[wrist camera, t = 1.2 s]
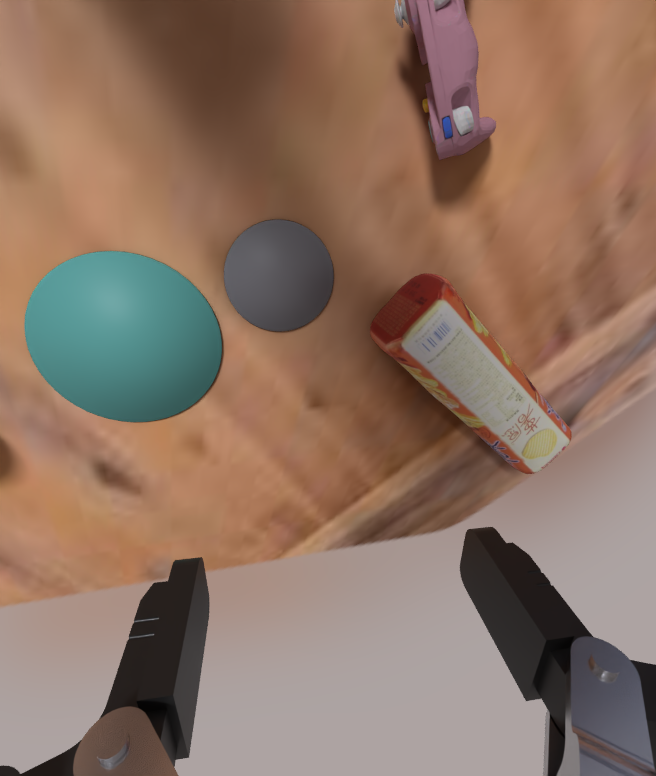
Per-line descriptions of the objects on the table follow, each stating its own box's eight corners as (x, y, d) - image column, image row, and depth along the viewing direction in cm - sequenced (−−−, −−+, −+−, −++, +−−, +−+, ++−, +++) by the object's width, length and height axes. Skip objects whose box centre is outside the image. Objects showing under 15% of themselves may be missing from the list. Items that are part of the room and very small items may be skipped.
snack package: (539, 406, 41) (591, 443, 35) (490, 449, 42) (532, 492, 36) (415, 261, 31) (458, 278, 25) (356, 323, 32) (384, 353, 26)
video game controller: (393, -12, 24) (380, -43, 19) (471, -56, 23) (481, -104, 17) (429, 160, 29) (427, 175, 24) (495, 135, 28) (509, 145, 22)
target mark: (-22, 299, 26) (-24, 299, 26) (162, 219, 26) (162, 219, 26) (103, 445, 32) (102, 446, 32) (250, 380, 32) (250, 381, 32)
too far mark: (203, 247, 27) (202, 247, 27) (309, 200, 27) (310, 200, 27) (254, 346, 31) (254, 347, 31) (347, 305, 31) (347, 306, 31)
